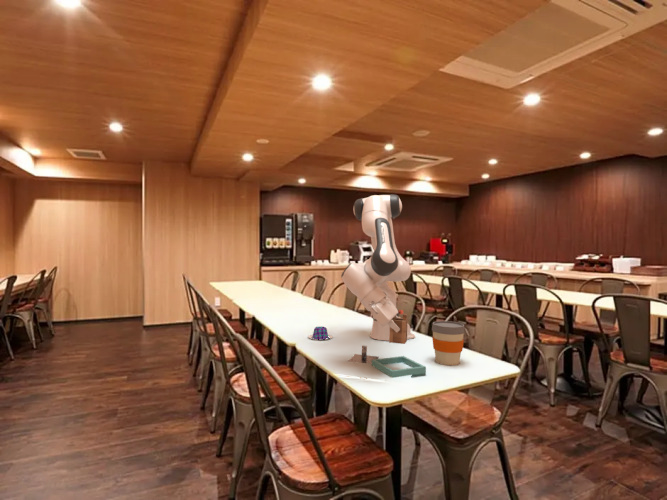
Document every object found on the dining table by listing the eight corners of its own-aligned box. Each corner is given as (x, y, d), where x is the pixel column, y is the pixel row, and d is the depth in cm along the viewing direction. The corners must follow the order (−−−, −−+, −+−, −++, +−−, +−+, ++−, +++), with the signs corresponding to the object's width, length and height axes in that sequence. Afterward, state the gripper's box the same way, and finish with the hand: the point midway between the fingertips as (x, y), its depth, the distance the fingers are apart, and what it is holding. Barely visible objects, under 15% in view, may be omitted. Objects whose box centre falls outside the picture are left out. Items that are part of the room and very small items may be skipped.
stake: (355, 356, 159) (355, 341, 159) (379, 359, 156) (379, 344, 156) (348, 363, 149) (348, 348, 149) (373, 366, 146) (374, 350, 146)
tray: (403, 363, 150) (403, 356, 150) (425, 375, 137) (425, 366, 137) (371, 367, 145) (371, 359, 145) (391, 380, 132) (392, 371, 132)
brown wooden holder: (391, 338, 144) (392, 312, 144) (407, 340, 143) (407, 313, 142) (389, 342, 139) (389, 314, 139) (404, 343, 137) (405, 315, 137)
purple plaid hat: (328, 334, 197) (328, 324, 197) (335, 340, 185) (336, 329, 185) (305, 336, 193) (305, 325, 193) (311, 342, 182) (311, 330, 182)
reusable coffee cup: (424, 358, 157) (425, 322, 157) (449, 355, 162) (450, 320, 162) (445, 368, 146) (446, 328, 145) (471, 364, 151) (472, 326, 150)
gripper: (374, 298, 133) (402, 329, 130) (385, 291, 152) (410, 318, 149) (361, 310, 134) (388, 341, 131) (374, 302, 154) (398, 329, 151)
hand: (400, 328), depth 141 cm, fingers closed on brown wooden holder, 6 cm apart
